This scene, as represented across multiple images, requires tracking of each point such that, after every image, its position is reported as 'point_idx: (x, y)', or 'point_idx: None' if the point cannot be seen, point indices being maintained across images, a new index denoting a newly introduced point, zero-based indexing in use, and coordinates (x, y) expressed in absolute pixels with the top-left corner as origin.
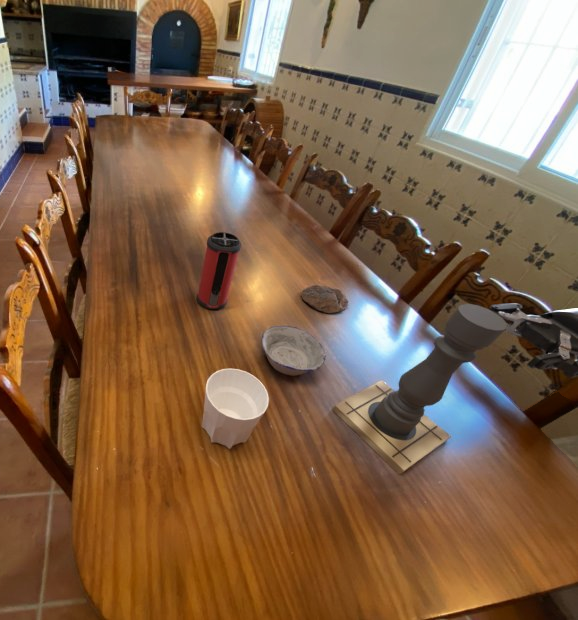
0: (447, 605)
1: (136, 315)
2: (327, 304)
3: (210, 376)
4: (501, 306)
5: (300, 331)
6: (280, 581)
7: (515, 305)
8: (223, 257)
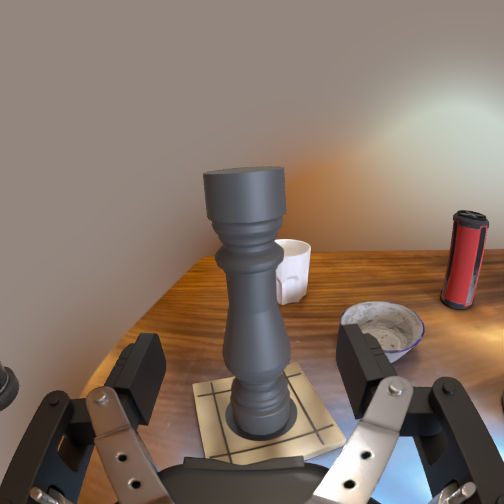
0: (109, 355)
1: (405, 264)
2: None
3: (301, 241)
4: (463, 413)
5: (419, 336)
6: (175, 296)
7: (497, 485)
8: (455, 227)
